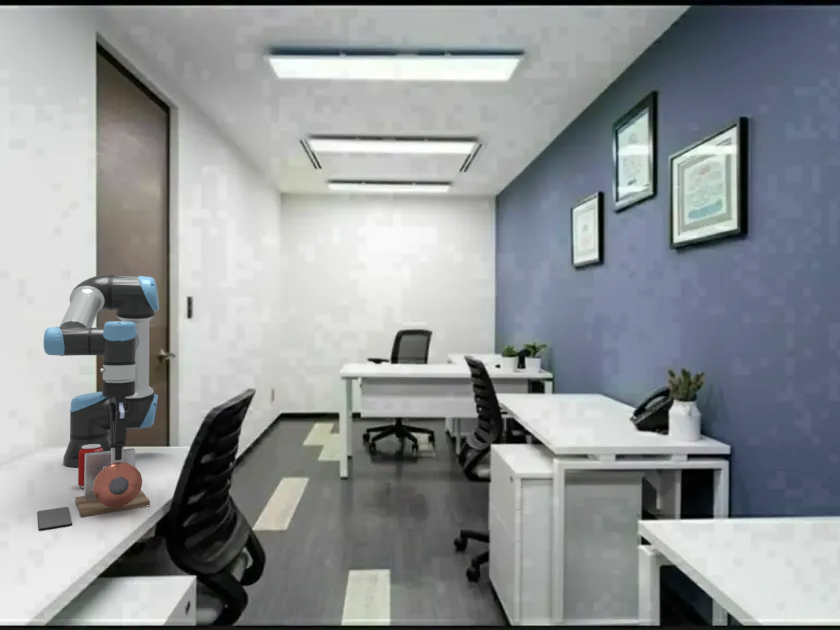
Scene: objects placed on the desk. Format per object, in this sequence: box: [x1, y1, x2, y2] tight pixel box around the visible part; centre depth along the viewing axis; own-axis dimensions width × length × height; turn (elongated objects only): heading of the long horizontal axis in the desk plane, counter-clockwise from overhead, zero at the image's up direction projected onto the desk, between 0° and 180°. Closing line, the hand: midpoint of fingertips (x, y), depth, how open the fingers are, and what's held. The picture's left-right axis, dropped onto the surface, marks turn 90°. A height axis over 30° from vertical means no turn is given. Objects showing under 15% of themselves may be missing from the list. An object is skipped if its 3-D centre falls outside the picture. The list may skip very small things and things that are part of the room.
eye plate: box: [83, 447, 136, 500], centre depth 160 cm, size 3×12×13 cm, turn 126°
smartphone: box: [36, 506, 73, 532], centre depth 144 cm, size 7×1×15 cm
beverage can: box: [77, 444, 103, 490], centre depth 170 cm, size 6×6×12 cm
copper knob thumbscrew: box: [93, 462, 143, 507], centre depth 154 cm, size 16×11×11 cm
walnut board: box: [74, 489, 151, 518], centre depth 156 cm, size 14×16×1 cm
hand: (117, 471), depth 150 cm, fingers closed
